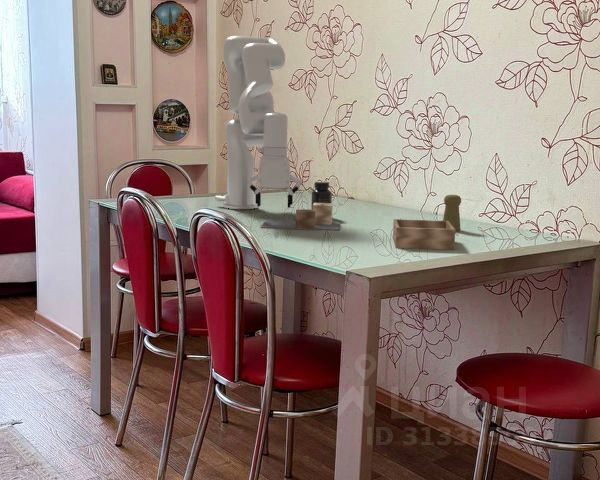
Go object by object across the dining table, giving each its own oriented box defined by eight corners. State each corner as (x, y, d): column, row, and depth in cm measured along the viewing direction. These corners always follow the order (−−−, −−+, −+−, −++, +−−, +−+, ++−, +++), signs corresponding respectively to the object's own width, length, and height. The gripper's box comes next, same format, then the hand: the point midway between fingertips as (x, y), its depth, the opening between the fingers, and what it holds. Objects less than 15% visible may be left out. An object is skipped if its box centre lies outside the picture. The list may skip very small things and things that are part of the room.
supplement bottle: (334, 217, 262) (335, 182, 260) (326, 220, 256) (327, 183, 254) (315, 215, 265) (316, 180, 263) (307, 218, 259) (308, 182, 257)
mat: (260, 227, 237) (260, 226, 237) (266, 220, 253) (266, 219, 253) (339, 230, 235) (339, 229, 235) (340, 222, 251) (340, 221, 251)
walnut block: (298, 228, 236) (299, 211, 235) (295, 225, 241) (296, 209, 240) (314, 228, 237) (315, 211, 236) (311, 225, 242) (311, 209, 241)
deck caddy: (395, 247, 209) (396, 227, 208) (392, 237, 224) (393, 219, 223) (454, 249, 208) (455, 229, 207) (447, 239, 223) (448, 220, 222)
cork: (461, 229, 243) (464, 194, 241) (459, 232, 237) (461, 196, 235) (442, 228, 245) (444, 193, 243) (439, 230, 239) (441, 195, 237)
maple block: (331, 205, 243) (331, 224, 244) (332, 203, 249) (332, 222, 250) (312, 205, 243) (312, 224, 244) (313, 202, 249) (313, 221, 250)
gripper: (246, 152, 241) (245, 207, 244) (301, 154, 241) (300, 209, 244) (249, 151, 249) (248, 204, 252) (302, 152, 248) (301, 205, 251)
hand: (273, 206), depth 248 cm, fingers open, 9 cm apart
